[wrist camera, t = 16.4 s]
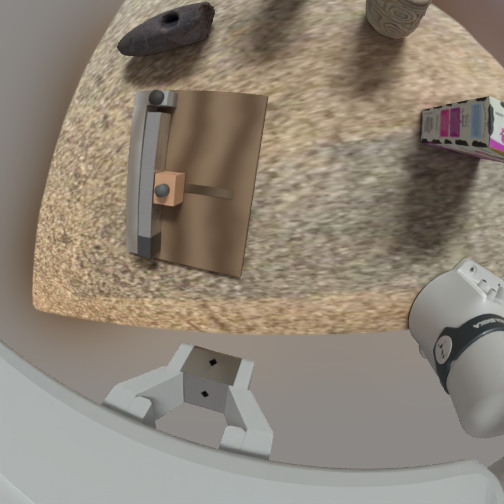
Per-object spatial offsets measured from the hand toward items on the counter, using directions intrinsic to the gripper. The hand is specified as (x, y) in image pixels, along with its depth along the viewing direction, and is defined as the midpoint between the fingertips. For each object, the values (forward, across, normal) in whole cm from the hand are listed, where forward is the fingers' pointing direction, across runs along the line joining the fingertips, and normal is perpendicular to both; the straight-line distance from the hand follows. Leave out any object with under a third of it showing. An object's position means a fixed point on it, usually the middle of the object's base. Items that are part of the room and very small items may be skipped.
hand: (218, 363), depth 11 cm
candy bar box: (+29, +22, +16) cm, 40 cm away
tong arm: (+28, -18, +1) cm, 33 cm away
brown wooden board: (+29, -14, +2) cm, 32 cm away
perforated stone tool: (+29, -19, +23) cm, 42 cm away
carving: (+29, +10, +30) cm, 43 cm away
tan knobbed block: (+28, -15, +1) cm, 32 cm away
